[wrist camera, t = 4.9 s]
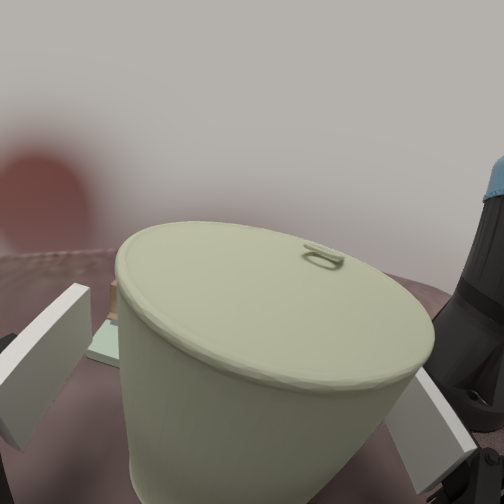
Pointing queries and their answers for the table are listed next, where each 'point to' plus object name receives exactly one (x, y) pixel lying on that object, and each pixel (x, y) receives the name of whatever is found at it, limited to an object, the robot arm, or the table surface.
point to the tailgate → (105, 344)
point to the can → (254, 361)
